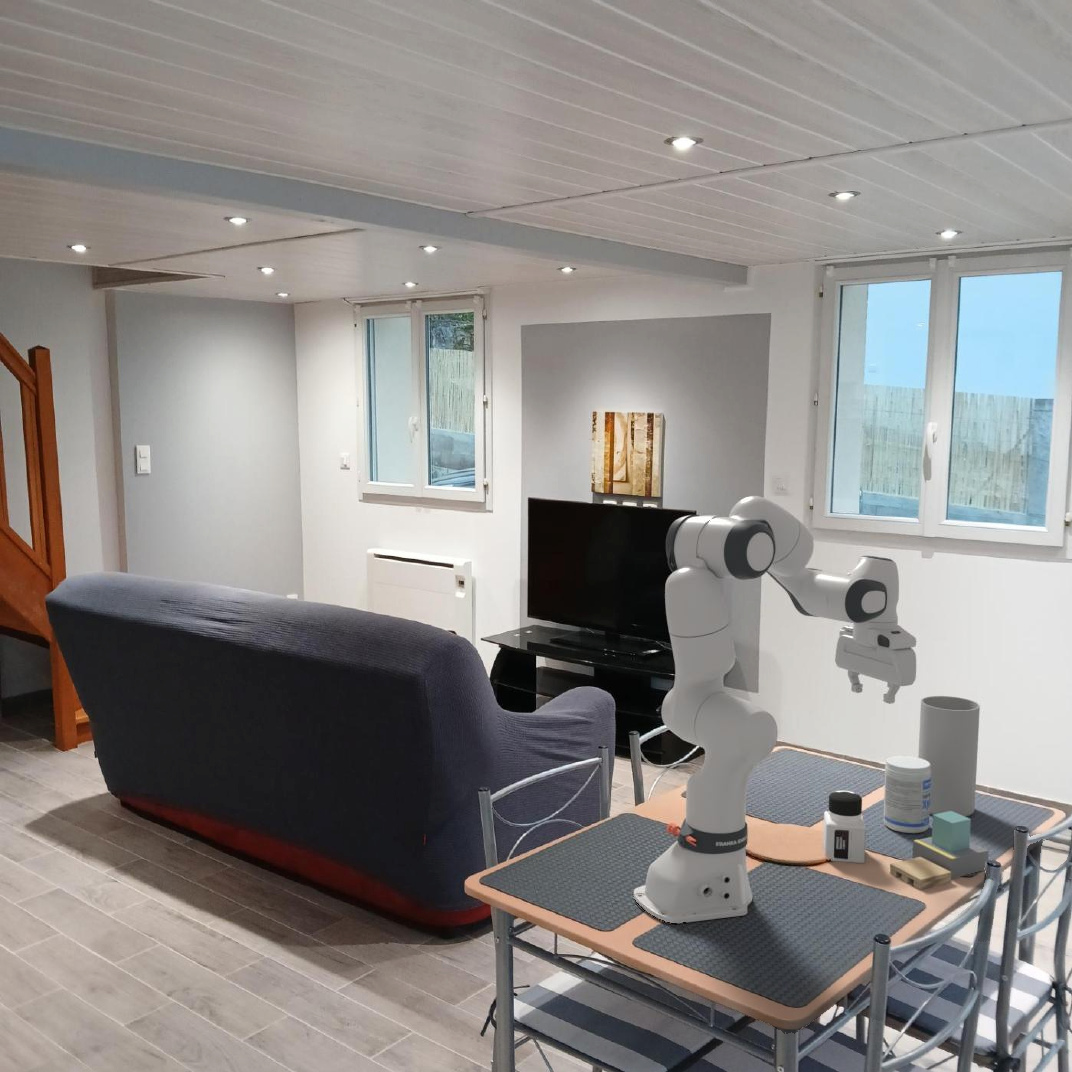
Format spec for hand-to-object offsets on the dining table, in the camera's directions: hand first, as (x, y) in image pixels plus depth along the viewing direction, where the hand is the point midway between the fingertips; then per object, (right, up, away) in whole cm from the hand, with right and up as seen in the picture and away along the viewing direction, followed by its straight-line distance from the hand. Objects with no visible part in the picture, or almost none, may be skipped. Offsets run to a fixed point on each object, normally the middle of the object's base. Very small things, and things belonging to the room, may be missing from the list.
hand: (872, 697), depth 223 cm
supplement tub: (+11, -30, +11) cm, 34 cm away
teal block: (+13, -28, -10) cm, 33 cm away
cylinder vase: (+24, -29, +21) cm, 43 cm away
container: (-7, -32, -4) cm, 33 cm away
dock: (+13, -32, -9) cm, 36 cm away
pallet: (+5, -33, -15) cm, 37 cm away
